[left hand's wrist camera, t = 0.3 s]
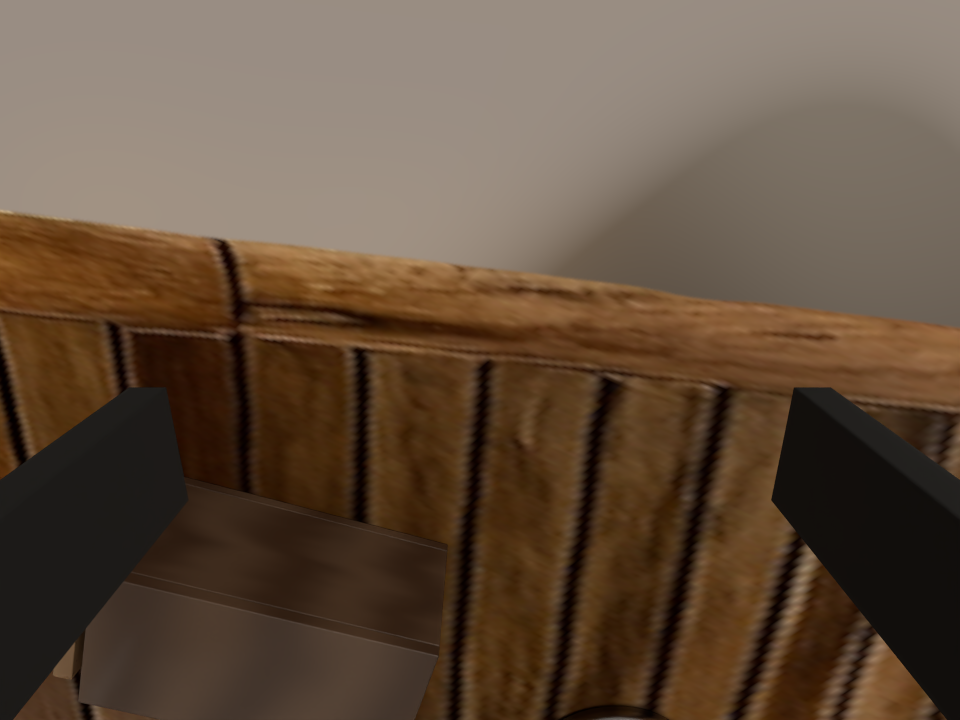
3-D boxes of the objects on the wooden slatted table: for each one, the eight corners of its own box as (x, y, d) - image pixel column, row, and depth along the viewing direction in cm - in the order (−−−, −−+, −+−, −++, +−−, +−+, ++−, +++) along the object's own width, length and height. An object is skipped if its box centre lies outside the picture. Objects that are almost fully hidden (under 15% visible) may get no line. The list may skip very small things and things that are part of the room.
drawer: (54, 561, 47) (-41, 655, 38) (61, 460, 43) (-40, 538, 35) (374, 637, 49) (352, 741, 41) (404, 547, 46) (386, 639, 38)
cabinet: (161, 583, 48) (77, 702, 38) (178, 474, 45) (90, 574, 35) (412, 643, 51) (395, 770, 41) (447, 544, 47) (438, 656, 37)
